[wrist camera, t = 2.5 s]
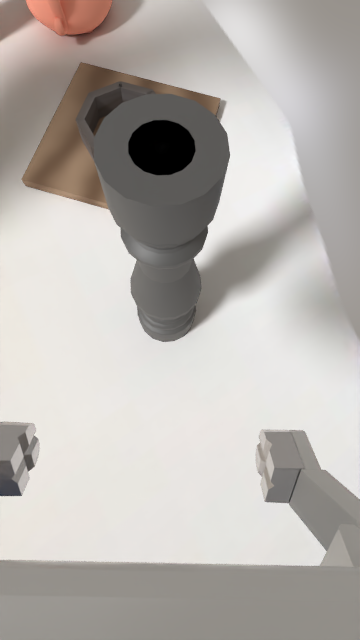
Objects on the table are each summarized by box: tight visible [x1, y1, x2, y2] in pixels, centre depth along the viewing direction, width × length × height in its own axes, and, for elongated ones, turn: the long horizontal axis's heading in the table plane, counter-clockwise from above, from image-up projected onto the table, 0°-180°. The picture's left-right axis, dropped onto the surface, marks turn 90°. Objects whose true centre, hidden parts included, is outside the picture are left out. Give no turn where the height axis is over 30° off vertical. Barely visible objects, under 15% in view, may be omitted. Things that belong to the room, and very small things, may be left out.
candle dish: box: [22, 62, 220, 209], centre depth 42 cm, size 20×20×4 cm
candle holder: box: [94, 94, 230, 342], centre depth 26 cm, size 6×6×25 cm
